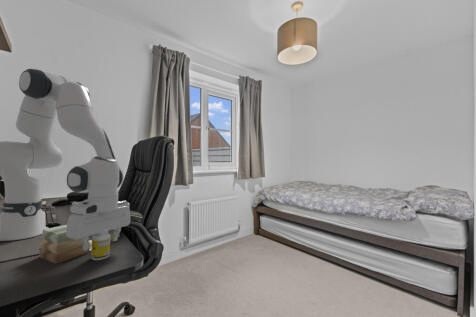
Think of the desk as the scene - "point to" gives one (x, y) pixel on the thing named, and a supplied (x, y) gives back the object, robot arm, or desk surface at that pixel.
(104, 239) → the supplement bottle
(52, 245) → the brick tower
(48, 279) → the desk surface
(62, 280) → the desk surface
